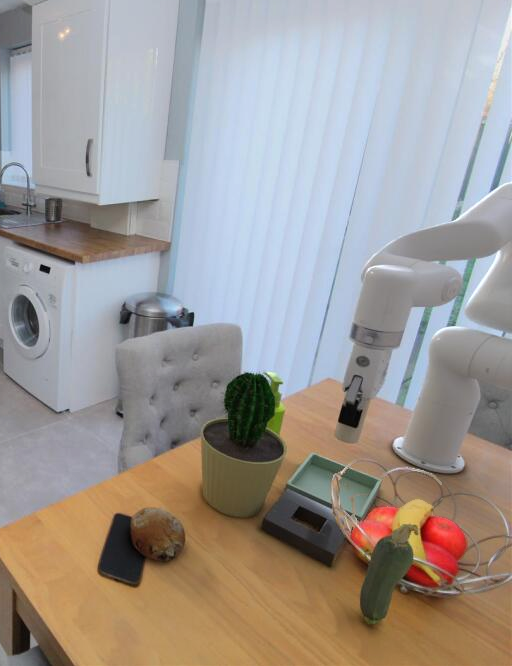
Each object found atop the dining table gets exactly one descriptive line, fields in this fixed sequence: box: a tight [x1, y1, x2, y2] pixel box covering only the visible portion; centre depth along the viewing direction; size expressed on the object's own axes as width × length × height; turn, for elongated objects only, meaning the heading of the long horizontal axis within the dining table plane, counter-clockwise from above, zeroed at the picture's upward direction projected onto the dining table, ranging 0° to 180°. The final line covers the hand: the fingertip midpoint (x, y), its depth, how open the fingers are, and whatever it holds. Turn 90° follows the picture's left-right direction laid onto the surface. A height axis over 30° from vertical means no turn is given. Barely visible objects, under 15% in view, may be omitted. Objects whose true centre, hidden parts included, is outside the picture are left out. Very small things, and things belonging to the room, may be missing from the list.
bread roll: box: [129, 506, 186, 562], centre depth 90 cm, size 10×10×8 cm
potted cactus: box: [200, 369, 288, 518], centre depth 95 cm, size 15×15×30 cm
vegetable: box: [359, 523, 421, 626], centre depth 72 cm, size 4×4×20 cm
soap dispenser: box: [263, 371, 286, 436], centre depth 111 cm, size 6×7×20 cm
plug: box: [333, 391, 371, 445], centre depth 93 cm, size 4×4×10 cm
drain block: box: [260, 489, 348, 568], centre depth 91 cm, size 12×12×3 cm
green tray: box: [283, 451, 383, 522], centre depth 100 cm, size 15×13×3 cm
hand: (351, 419), depth 94 cm, fingers closed on plug, 4 cm apart
